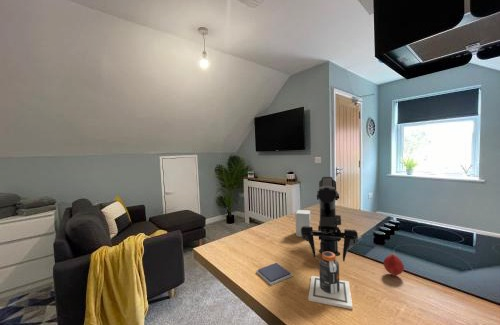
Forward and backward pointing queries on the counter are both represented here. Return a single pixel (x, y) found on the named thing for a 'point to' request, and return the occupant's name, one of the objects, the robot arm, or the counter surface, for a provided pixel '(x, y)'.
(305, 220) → the supplement box
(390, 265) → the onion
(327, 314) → the counter surface
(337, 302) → the board
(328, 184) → the robot arm
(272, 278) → the ink pad
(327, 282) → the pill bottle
